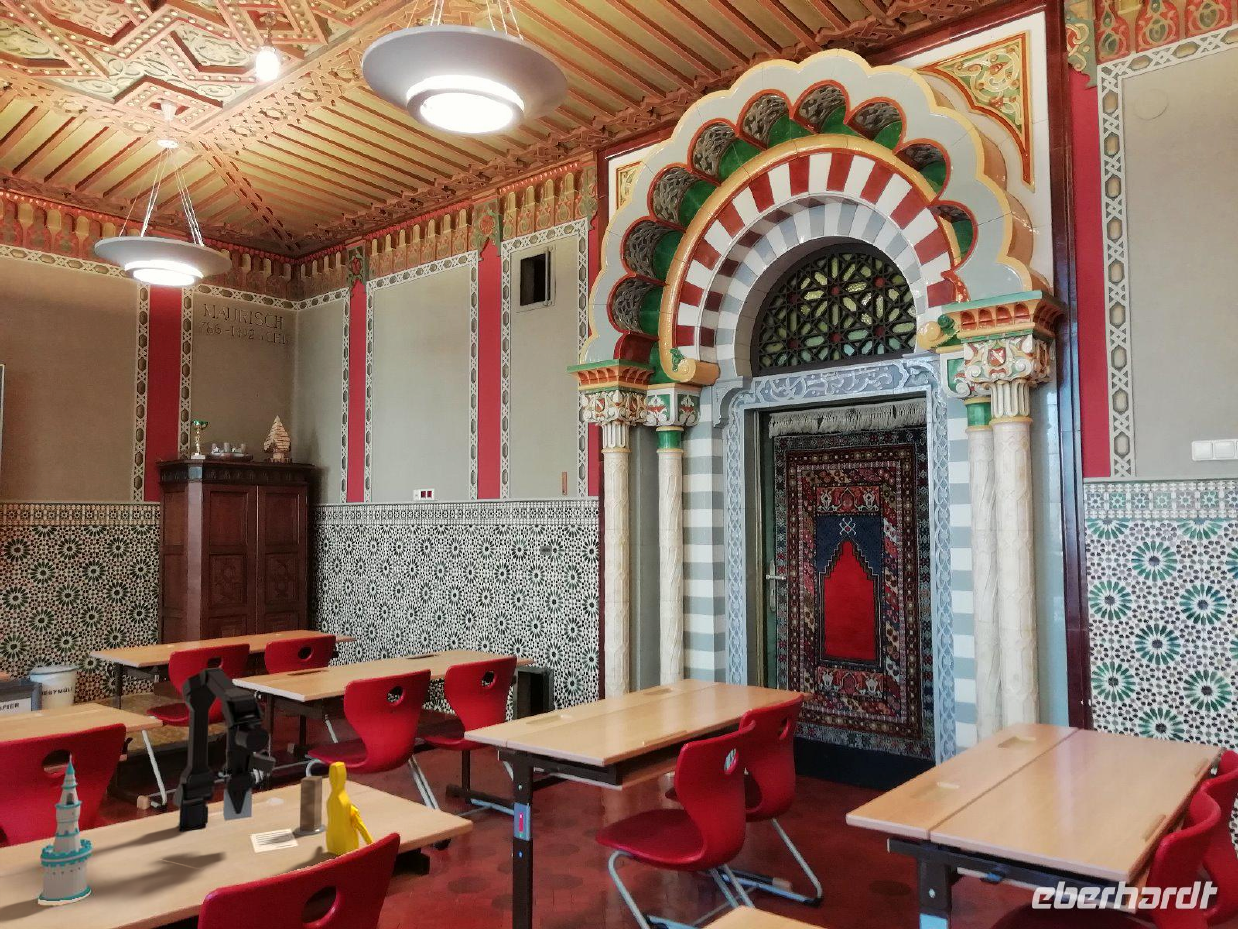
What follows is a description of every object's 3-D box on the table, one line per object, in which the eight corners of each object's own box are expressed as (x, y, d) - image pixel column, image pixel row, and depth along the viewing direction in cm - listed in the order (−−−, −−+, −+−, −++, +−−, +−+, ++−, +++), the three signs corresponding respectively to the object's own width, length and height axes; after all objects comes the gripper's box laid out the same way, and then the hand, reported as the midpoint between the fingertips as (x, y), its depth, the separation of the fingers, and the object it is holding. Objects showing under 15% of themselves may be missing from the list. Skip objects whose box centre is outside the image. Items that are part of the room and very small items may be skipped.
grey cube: (224, 820, 215) (225, 795, 215) (223, 814, 220) (223, 789, 220) (251, 817, 217) (252, 792, 218) (249, 810, 223) (249, 786, 223)
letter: (255, 853, 216) (255, 852, 216) (249, 835, 229) (249, 834, 229) (298, 846, 221) (298, 845, 221) (290, 829, 234) (290, 828, 234)
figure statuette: (380, 855, 214) (381, 762, 215) (353, 866, 207) (355, 769, 209) (333, 842, 224) (334, 753, 225) (306, 851, 217) (308, 759, 219)
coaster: (296, 838, 227) (296, 835, 227) (292, 829, 234) (292, 826, 234) (328, 833, 231) (328, 830, 231) (323, 824, 238) (323, 822, 238)
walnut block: (299, 831, 231) (300, 780, 232) (307, 826, 235) (308, 775, 236) (314, 831, 230) (315, 780, 231) (321, 826, 234) (322, 776, 235)
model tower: (86, 884, 198) (92, 747, 200) (95, 897, 190) (101, 754, 193) (33, 896, 191) (39, 754, 194) (41, 910, 183) (47, 762, 186)
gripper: (278, 749, 216) (276, 815, 214) (269, 735, 232) (268, 796, 231) (228, 755, 210) (226, 822, 209) (223, 740, 227) (221, 802, 226)
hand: (237, 810), depth 219 cm, fingers closed on grey cube, 6 cm apart
